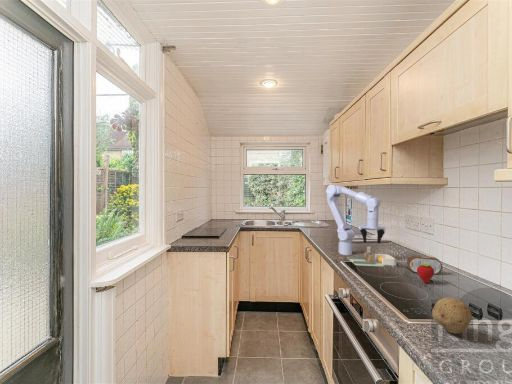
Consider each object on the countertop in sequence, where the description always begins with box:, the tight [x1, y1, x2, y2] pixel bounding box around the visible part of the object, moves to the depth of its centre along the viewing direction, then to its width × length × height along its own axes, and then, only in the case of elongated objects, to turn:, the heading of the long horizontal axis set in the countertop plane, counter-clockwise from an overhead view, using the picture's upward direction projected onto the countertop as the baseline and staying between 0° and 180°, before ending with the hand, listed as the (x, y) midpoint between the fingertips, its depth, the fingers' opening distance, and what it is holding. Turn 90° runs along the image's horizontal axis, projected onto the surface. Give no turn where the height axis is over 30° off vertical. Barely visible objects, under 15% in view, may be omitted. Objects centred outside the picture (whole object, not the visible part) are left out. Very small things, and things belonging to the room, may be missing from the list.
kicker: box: [363, 245, 375, 262], centre depth 149 cm, size 8×2×8 cm, turn 178°
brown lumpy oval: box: [431, 297, 473, 335], centre depth 79 cm, size 9×9×10 cm
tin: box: [406, 254, 443, 276], centre depth 136 cm, size 15×3×8 cm, turn 74°
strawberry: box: [416, 263, 434, 284], centre depth 121 cm, size 6×8×10 cm
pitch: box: [346, 253, 397, 267], centre depth 149 cm, size 16×22×4 cm
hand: (371, 242), depth 155 cm, fingers open, 7 cm apart
